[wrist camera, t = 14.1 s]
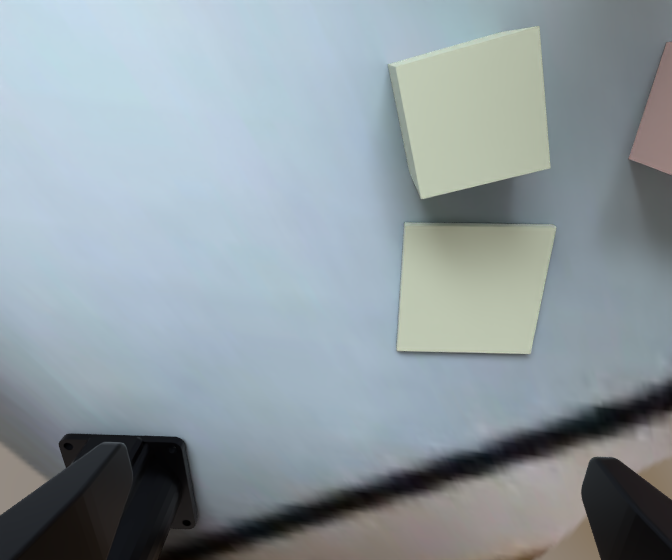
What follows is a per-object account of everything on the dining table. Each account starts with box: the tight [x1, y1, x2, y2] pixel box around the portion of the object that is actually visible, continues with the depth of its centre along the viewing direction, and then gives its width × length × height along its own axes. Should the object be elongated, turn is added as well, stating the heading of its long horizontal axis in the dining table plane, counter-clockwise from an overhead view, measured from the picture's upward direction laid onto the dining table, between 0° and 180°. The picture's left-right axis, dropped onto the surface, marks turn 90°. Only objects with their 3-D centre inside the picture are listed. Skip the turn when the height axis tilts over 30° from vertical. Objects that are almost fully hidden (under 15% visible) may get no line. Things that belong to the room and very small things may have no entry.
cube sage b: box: [388, 26, 550, 199], centre depth 16 cm, size 4×4×4 cm
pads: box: [396, 223, 556, 354], centre depth 20 cm, size 6×19×1 cm, turn 90°
